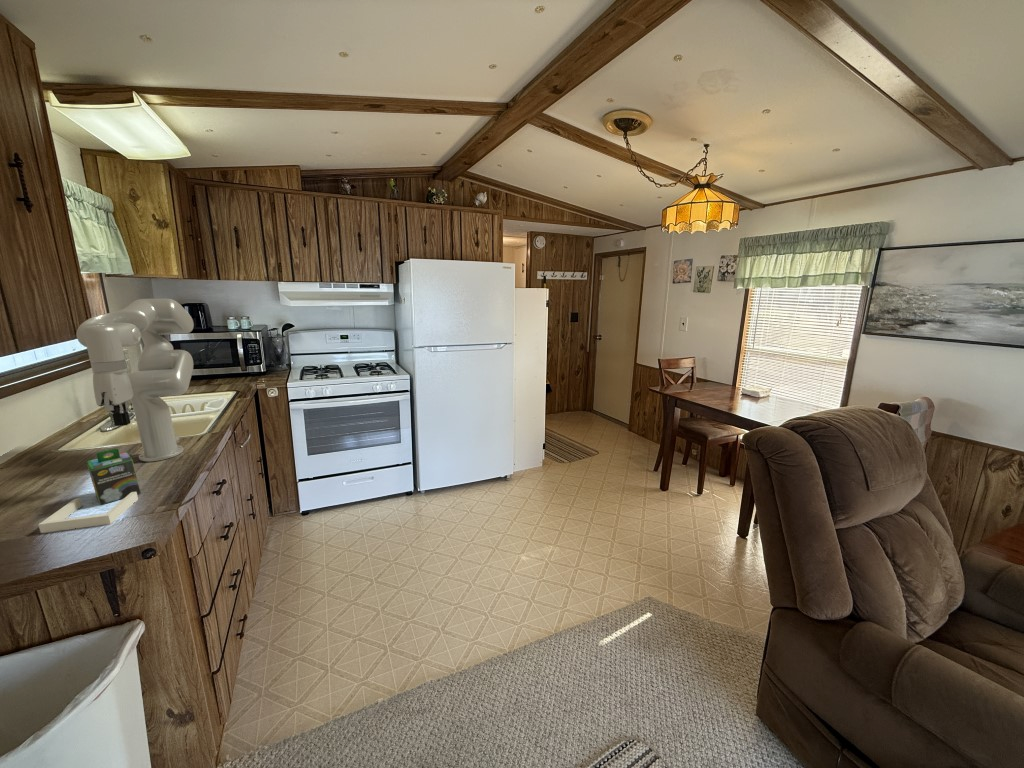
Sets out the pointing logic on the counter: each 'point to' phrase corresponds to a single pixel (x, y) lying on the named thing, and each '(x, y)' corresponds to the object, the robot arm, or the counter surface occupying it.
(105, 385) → the robot arm
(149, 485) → the counter surface
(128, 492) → the chalk box
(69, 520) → the cream u-shaped bracket
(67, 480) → the counter surface
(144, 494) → the counter surface
